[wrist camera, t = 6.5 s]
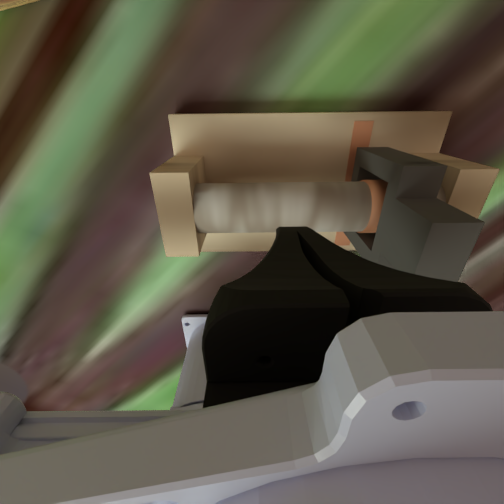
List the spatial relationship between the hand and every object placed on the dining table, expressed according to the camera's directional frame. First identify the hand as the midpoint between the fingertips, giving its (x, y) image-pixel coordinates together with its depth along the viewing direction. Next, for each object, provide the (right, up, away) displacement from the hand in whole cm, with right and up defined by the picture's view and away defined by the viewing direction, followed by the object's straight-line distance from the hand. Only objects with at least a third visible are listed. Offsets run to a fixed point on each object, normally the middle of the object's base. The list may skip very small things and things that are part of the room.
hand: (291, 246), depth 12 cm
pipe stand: (+2, +5, +9) cm, 10 cm away
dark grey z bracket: (+6, +4, +7) cm, 10 cm away
